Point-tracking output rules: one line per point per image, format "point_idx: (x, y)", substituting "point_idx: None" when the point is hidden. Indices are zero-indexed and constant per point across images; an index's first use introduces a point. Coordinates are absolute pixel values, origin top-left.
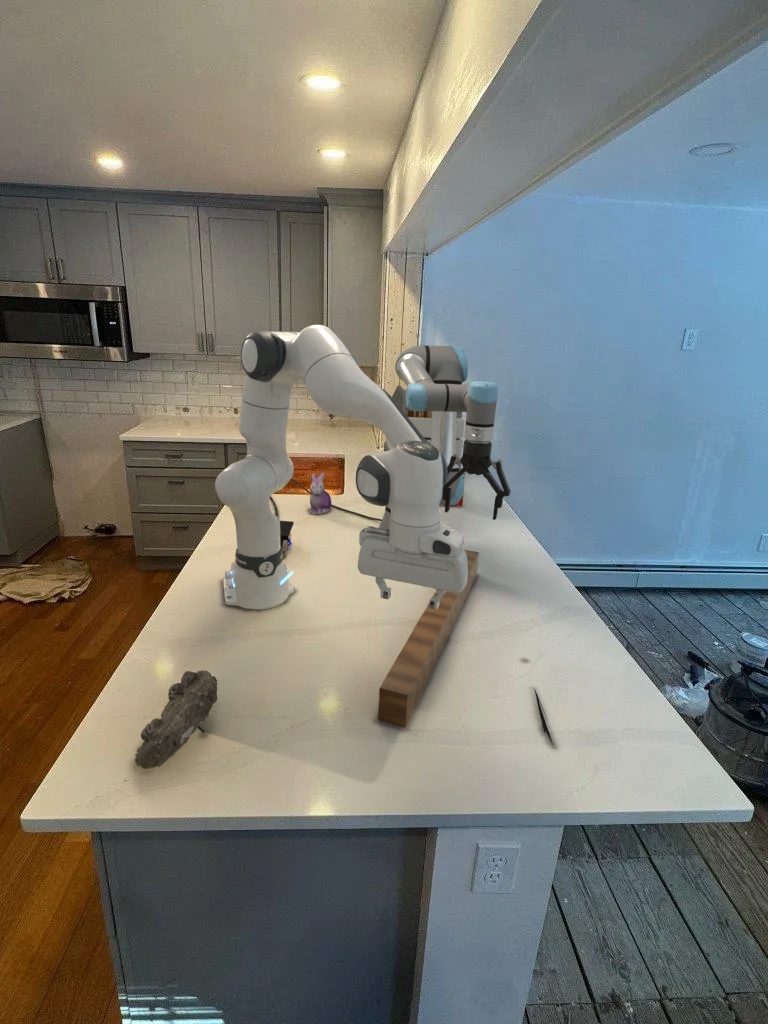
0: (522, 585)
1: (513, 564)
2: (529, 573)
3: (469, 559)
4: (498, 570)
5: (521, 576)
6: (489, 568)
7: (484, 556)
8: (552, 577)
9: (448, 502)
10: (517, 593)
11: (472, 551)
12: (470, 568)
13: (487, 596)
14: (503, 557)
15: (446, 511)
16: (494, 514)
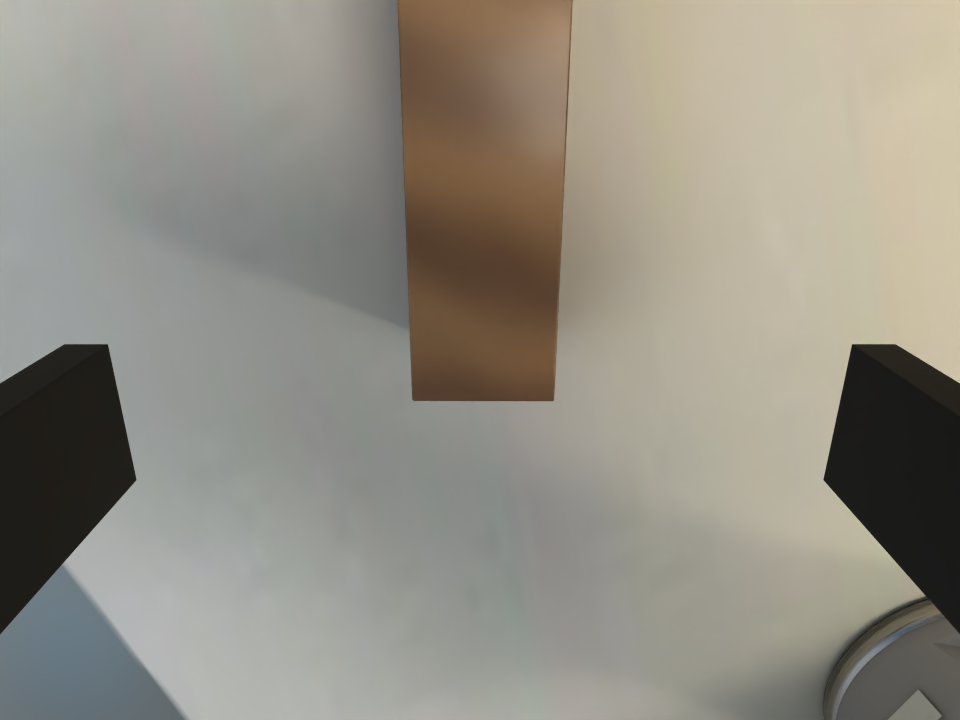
0: (145, 315)
1: (265, 548)
2: (155, 477)
3: (450, 236)
4: (322, 446)
5: (184, 424)
6: (376, 451)
7: (437, 581)
8: None
9: (950, 455)
10: (139, 196)
11: (460, 391)
12: (402, 57)
13: (294, 71)
14: (337, 606)
15: (876, 349)
16: (31, 380)
